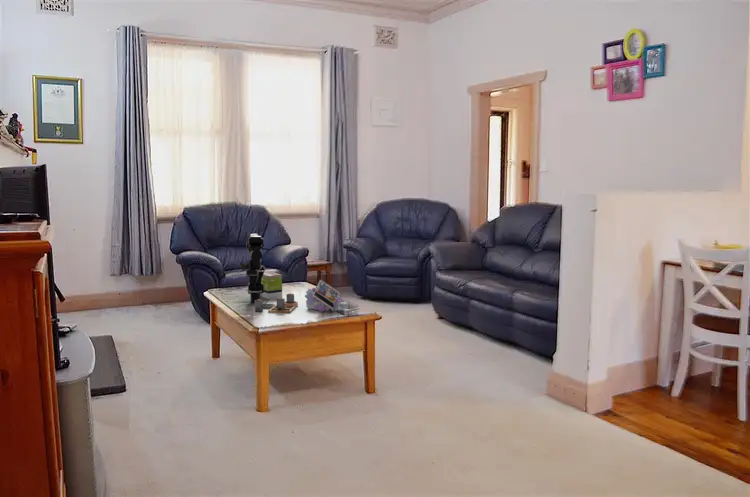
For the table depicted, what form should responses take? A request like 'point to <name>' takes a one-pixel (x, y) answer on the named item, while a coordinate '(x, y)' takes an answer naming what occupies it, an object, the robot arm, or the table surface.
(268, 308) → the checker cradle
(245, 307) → the table surface
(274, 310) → the trough board
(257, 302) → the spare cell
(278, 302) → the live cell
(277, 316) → the table surface
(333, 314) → the table surface
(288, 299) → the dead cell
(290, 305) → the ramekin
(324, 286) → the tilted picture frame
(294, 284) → the table surface
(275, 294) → the tea box
